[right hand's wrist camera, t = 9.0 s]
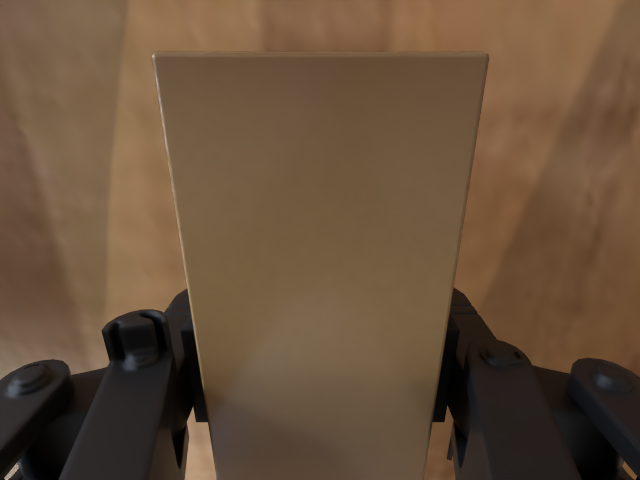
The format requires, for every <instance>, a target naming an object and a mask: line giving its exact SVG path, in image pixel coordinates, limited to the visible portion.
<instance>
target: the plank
mask: <svg viewBox="0 0 640 480" xmlns="http://www.w3.org/2000/svg"><path fill="white" fill-rule="evenodd" d="M488 61H489V55H488V54H487V53H485V52H156V53H154V54H152V62H153V69H154V75H155V82H156V88H157V95H158V101H159V107H160V114H161V120H162V127H163V133H164V140H165V146H166V153H167V159H168V166H169V172H170V179H171V185H172V192H173V198H174V205H175V211H176V217H177V224H178V230H179V237H180V243H181V250H182V256H183V263H184V269H185V276H186V282H187V289H188V295H189V302H190V308H191V315H192V321H193V328H194V334H195V340H196V347H197V353H198V360H199V366H200V373H201V379H202V386H203V392H204V399H205V405H206V412H207V418H208V425H209V431H210V438H211V444H212V451H213V457H214V463H215V470H216V476H217V480H423V479H424V473H425V466H426V460H427V453H428V447H429V441H430V434H431V428H432V421H433V415H434V408H435V402H436V396H437V389H438V383H439V376H440V370H441V363H442V357H443V351H444V344H445V338H446V331H447V325H448V319H449V312H450V306H451V299H452V293H453V286H454V280H455V274H456V267H457V261H458V254H459V248H460V241H461V235H462V229H463V222H464V216H465V209H466V203H467V196H468V190H469V184H470V177H471V171H472V164H473V158H474V151H475V145H476V139H477V132H478V126H479V119H480V113H481V106H482V100H483V94H484V87H485V81H486V74H487V68H488Z"/></svg>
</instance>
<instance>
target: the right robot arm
mask: <svg viewBox="0 0 640 480" xmlns="http://www.w3.org/2000/svg"><path fill="white" fill-rule="evenodd" d="M101 331H102V334H103V338H104V342H105V346H106V349H107V353H108V357H109V361H110V363H109V365H108V367H106V368H102V369H98V370H94V371H89V372H84V373H79V374H75V375H71V373H70V370H69V367H68V365H67V364H66V363H64V362H63V361H60V360H53V359H52V360H43V361H38V362H34V363H30V364H27V365H25V366H23V367H21V368H19V369H17V370H15V371H13V372H11V373H9V374H8V375H6V376H5V377H4V378H2V379H1V380H0V480H5V479H4V477H5V476H6V475H7V474H8V473H9V471H10V470H11V469H12V468H13V467H14V465H15V464H16V463H17V464H18V466H19V469H18V470H17V471H16V473H15V474H14V475H13V476H12V477H11V478H10V479H9V480H184V479H185V470H186V461H187V451H188V442H189V433H188V427H187V420H188V417H189V415H190V413H191V410H192V408H193V407H194V413H195V419H196V422H208V418H207V412H206V405H205V399H204V392H203V386H202V379H201V373H200V366H199V360H198V353H197V347H196V340H195V334H194V328H193V321H192V315H191V308H190V302H189V295H188V289H186V290H184V291H183V292H181V293H180V294H178V295H177V296H176V297H175V298H174V300H173V301H172V302H171V304H170V305H169V307H168V308H167V309H166V311H165V312H164V313H163V312H161V311H157V310H153V309H152V310H138V311H133V312H129V313H126V314H124V315H121V316H119V317H117V318H115V319H114V320H112V321H110V322H109V323H107V325H106V326H105V327H104V328H103V329H102V330H101ZM447 405H448V407H449V410H450V412H451V415H452V417H453V419H454V421H453V427H452V432H451V437H450V443H449V448H448V454H447V459H448V460H452V456H453V460H454V469H455V478H456V480H634V479H633V478H631V477H630V476H629V475H628V474H627V472H626V471H625V470H624V469H623V467H622V465H623V463H624V461H625V462H626V463H627V464H628V466H629V467H630V468H631V469H632V470H633V472H634V473H635V474H636V475H637V478H636V480H640V377H638V376H637V375H636V374H634V373H633V372H631V371H630V370H628V369H626V368H623V367H621V366H619V365H618V364H615V363H612V362H608V361H606V360H602V359H594V358H584V359H578V360H577V361H576V362H575V363H573V365H572V368H571V371H570V374H568V373H564V372H559V371H554V370H549V369H545V368H540V367H537V366H533V365H532V364H531V362H530V360H529V359H528V358H527V356H526V355H525V354H524V353H523V352H522V351H520V350H519V349H518V348H516V347H515V346H513V345H510V344H508V343H506V342H503V341H499V340H497V339H496V338H495V336H494V335H493V333H492V332H491V331H490V329H489V328H488V327H487V325H486V324H485V322H484V321H483V320H482V318H481V317H480V315H479V314H477V311H476V310H475V309H474V307H473V306H471V303H470V302H469V300H468V299H467V297H466V296H465V295H464V294H463V293H461V292H460V291H458V290H457V289H455V288H454V287H453V293H452V299H451V306H450V312H449V319H448V325H447V331H446V338H445V344H444V351H443V357H442V363H441V370H440V376H439V383H438V389H437V396H436V402H435V408H434V415H433V421H432V422H444V421H445V415H446V410H447Z"/></svg>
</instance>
